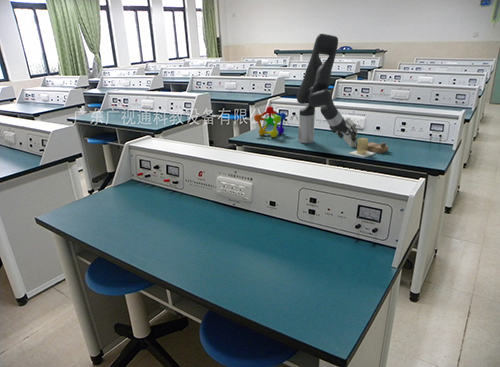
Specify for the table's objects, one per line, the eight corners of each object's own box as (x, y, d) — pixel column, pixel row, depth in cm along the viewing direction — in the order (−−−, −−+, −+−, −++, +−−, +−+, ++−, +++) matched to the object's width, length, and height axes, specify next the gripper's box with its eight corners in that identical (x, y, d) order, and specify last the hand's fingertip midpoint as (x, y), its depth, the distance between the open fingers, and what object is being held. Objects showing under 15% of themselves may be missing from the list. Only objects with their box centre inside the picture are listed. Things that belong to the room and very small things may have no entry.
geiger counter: (359, 124, 208) (349, 115, 231) (348, 124, 208) (339, 115, 231) (357, 147, 213) (348, 136, 236) (347, 147, 213) (338, 137, 236)
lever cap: (356, 152, 201) (357, 138, 198) (361, 151, 203) (362, 137, 200) (362, 154, 198) (363, 140, 195) (367, 152, 200) (368, 138, 197)
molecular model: (251, 134, 250) (252, 105, 243) (264, 131, 261) (265, 103, 255) (277, 139, 238) (279, 108, 232) (289, 136, 250) (291, 107, 243)
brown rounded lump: (362, 149, 209) (363, 140, 207) (370, 147, 212) (370, 138, 210) (380, 153, 199) (381, 145, 197) (388, 151, 203) (389, 142, 201)
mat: (348, 153, 202) (348, 152, 201) (360, 150, 207) (360, 149, 207) (363, 157, 194) (363, 156, 194) (375, 154, 199) (375, 153, 199)
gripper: (350, 116, 175) (363, 135, 186) (328, 111, 186) (341, 130, 196) (342, 128, 174) (355, 147, 185) (320, 123, 185) (334, 141, 196)
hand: (348, 138), depth 191 cm, fingers open, 8 cm apart
